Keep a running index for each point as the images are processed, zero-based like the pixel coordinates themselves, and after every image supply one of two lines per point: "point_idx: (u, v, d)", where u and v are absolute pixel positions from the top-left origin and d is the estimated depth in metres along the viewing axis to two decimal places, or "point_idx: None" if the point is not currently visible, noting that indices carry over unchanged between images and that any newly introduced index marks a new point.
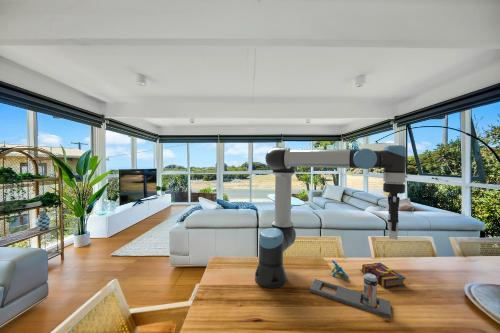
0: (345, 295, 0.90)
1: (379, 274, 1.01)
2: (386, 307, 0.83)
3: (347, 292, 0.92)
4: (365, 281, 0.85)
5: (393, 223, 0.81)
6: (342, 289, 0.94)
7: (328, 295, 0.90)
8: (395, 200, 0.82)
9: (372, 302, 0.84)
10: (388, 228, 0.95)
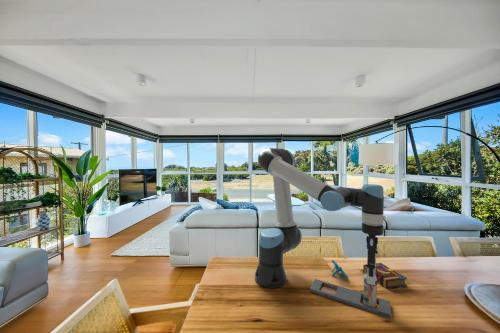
0: (345, 295, 0.90)
1: (381, 274, 1.01)
2: (386, 307, 0.83)
3: (347, 292, 0.92)
4: (365, 281, 0.85)
5: (370, 268, 0.78)
6: (342, 289, 0.94)
7: (328, 295, 0.90)
8: (372, 244, 0.79)
9: (372, 302, 0.84)
10: None
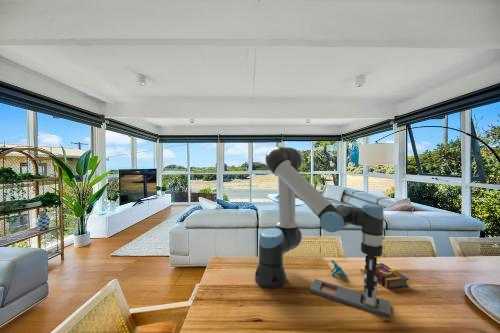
0: (345, 295, 0.90)
1: (382, 275, 1.01)
2: (386, 307, 0.83)
3: (347, 292, 0.92)
4: (365, 281, 0.85)
5: (369, 290, 0.82)
6: (342, 289, 0.94)
7: (328, 295, 0.90)
8: (371, 269, 0.80)
9: None
10: None
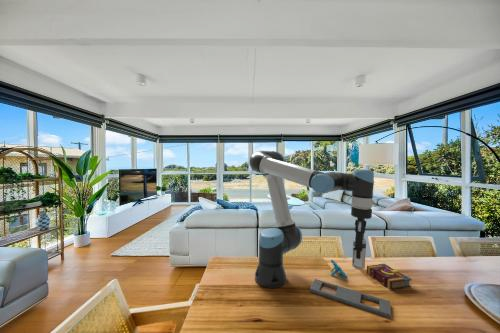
0: (345, 295, 0.90)
1: (385, 276, 1.00)
2: (386, 307, 0.83)
3: (347, 292, 0.92)
4: (354, 244, 0.87)
5: (358, 251, 0.84)
6: (342, 289, 0.94)
7: (328, 295, 0.90)
8: (360, 230, 0.82)
9: None
10: None
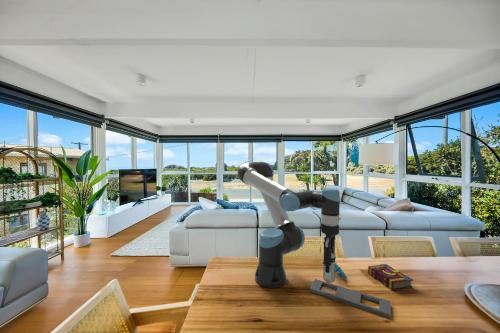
0: (345, 295, 0.90)
1: (386, 276, 1.00)
2: (386, 307, 0.83)
3: (347, 292, 0.92)
4: None
5: (326, 265, 0.90)
6: (342, 289, 0.94)
7: (328, 295, 0.90)
8: (327, 246, 0.88)
9: None
10: None
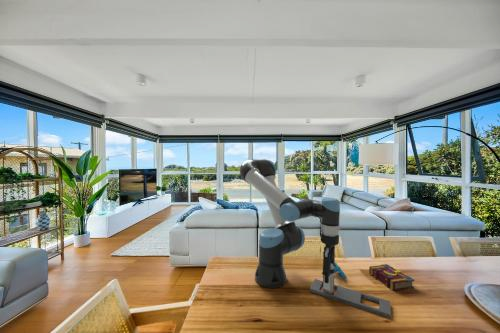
0: (345, 295, 0.90)
1: (387, 276, 1.00)
2: (386, 307, 0.83)
3: (347, 292, 0.92)
4: None
5: (325, 276, 0.90)
6: (342, 289, 0.94)
7: (328, 295, 0.90)
8: (327, 256, 0.88)
9: None
10: None
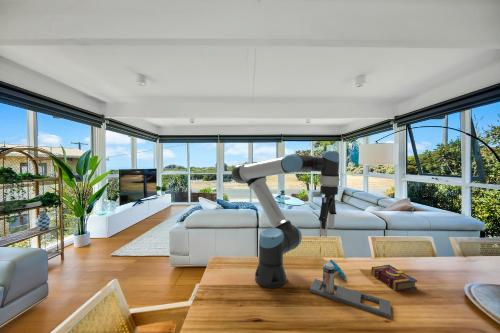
0: (345, 295, 0.90)
1: (390, 277, 0.99)
2: (386, 307, 0.83)
3: (347, 292, 0.92)
4: (324, 269, 0.94)
5: (322, 222, 0.90)
6: (342, 289, 0.94)
7: (328, 295, 0.90)
8: (325, 201, 0.91)
9: (329, 288, 0.92)
10: (328, 226, 1.03)
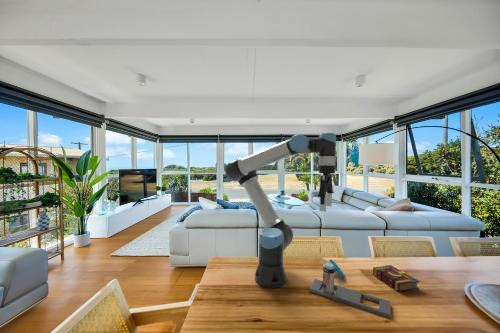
0: (345, 295, 0.90)
1: (392, 277, 0.99)
2: (386, 307, 0.83)
3: (347, 292, 0.92)
4: (324, 269, 0.94)
5: (321, 197, 0.97)
6: (342, 289, 0.94)
7: (328, 295, 0.90)
8: (324, 178, 0.98)
9: (329, 288, 0.92)
10: (326, 205, 1.10)
